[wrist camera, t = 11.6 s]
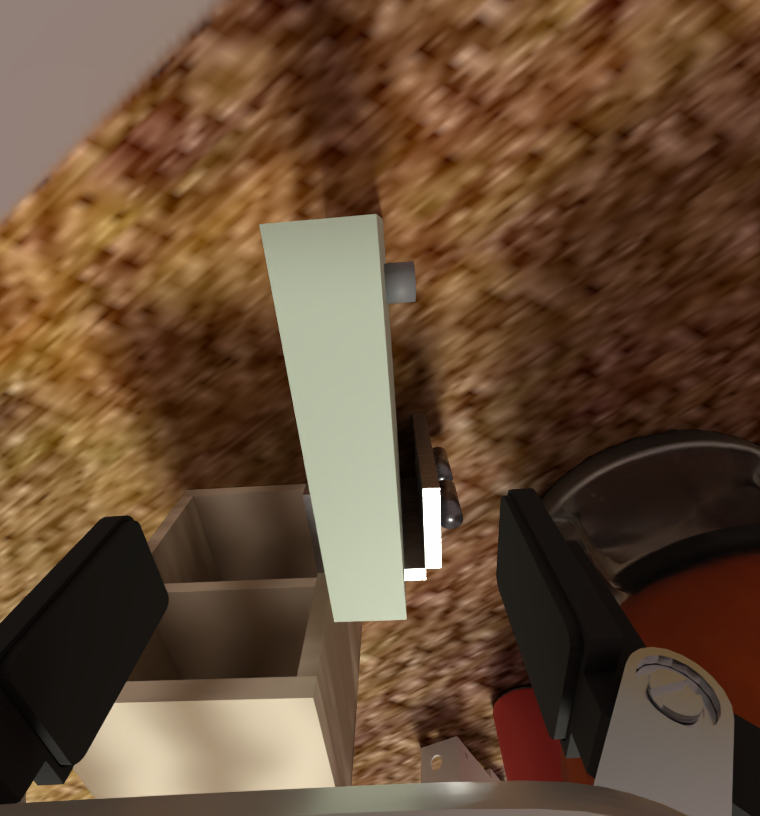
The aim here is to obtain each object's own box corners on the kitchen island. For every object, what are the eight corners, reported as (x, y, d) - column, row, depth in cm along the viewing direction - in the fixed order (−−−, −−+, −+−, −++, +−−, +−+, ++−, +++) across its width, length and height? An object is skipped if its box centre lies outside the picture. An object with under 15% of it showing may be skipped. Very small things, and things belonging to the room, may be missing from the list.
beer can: (477, 703, 39) (512, 891, 28) (531, 673, 36) (592, 864, 26) (520, 730, 40) (569, 917, 29) (574, 703, 38) (648, 893, 27)
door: (326, 224, 21) (259, 224, 10) (405, 217, 21) (424, 209, 10) (356, 463, 27) (334, 622, 16) (416, 459, 27) (436, 618, 16)
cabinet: (226, 606, 33) (127, 840, 21) (186, 490, 28) (23, 705, 16) (363, 600, 33) (347, 838, 20) (347, 481, 28) (313, 697, 15)
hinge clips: (337, 491, 28) (319, 583, 21) (326, 418, 26) (302, 495, 18) (444, 485, 28) (464, 578, 21) (444, 411, 25) (466, 486, 18)
